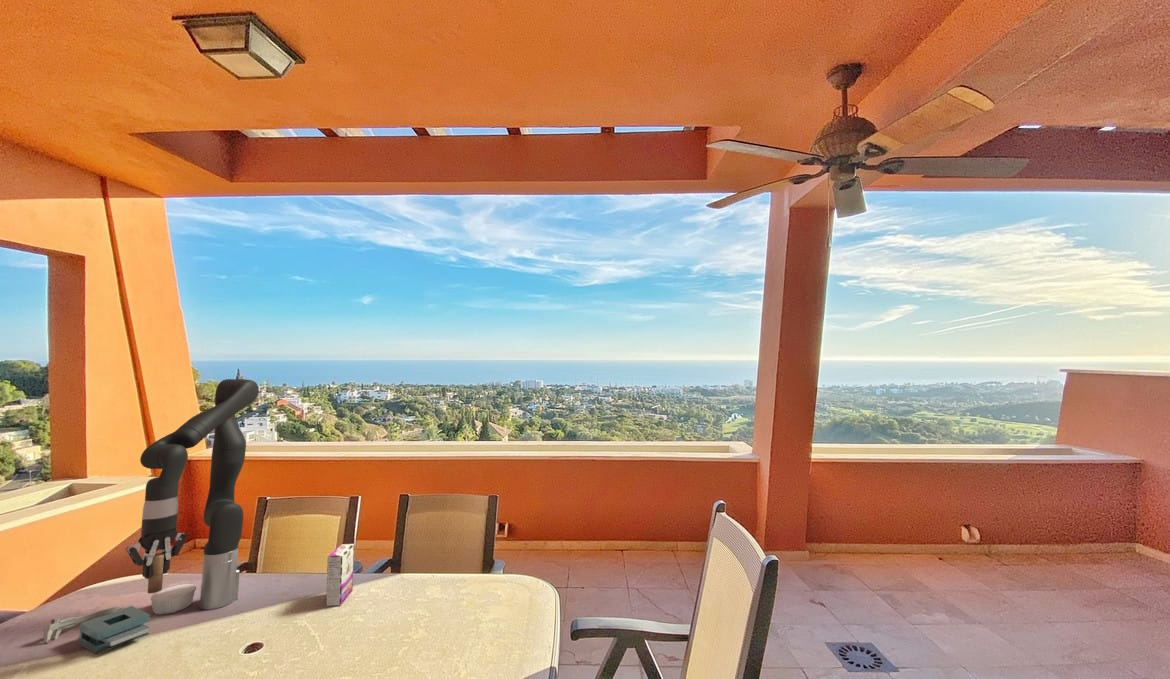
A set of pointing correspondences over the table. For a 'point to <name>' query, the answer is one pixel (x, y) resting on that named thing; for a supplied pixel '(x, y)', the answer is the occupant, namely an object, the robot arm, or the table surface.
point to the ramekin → (172, 599)
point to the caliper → (71, 623)
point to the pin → (156, 574)
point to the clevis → (113, 629)
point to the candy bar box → (339, 575)
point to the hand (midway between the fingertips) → (155, 575)
